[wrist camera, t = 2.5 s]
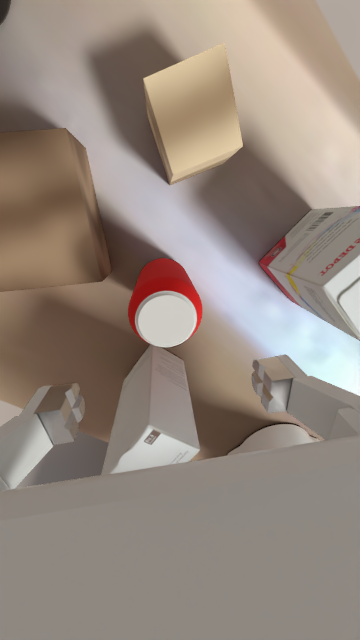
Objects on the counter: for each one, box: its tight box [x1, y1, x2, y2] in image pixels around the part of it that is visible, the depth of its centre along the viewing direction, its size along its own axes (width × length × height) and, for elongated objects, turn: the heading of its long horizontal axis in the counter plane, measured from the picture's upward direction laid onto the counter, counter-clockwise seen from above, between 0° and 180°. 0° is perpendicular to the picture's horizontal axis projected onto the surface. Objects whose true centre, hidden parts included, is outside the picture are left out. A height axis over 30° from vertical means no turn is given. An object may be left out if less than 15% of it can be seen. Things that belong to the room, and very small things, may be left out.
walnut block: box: [0, 128, 112, 292], centre depth 21 cm, size 12×12×5 cm
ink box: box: [259, 206, 360, 341], centre depth 22 cm, size 9×9×12 cm
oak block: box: [143, 42, 243, 185], centre depth 19 cm, size 6×6×6 cm
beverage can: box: [128, 258, 202, 348], centre depth 22 cm, size 6×6×12 cm
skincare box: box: [102, 344, 200, 475], centre depth 26 cm, size 8×6×15 cm
